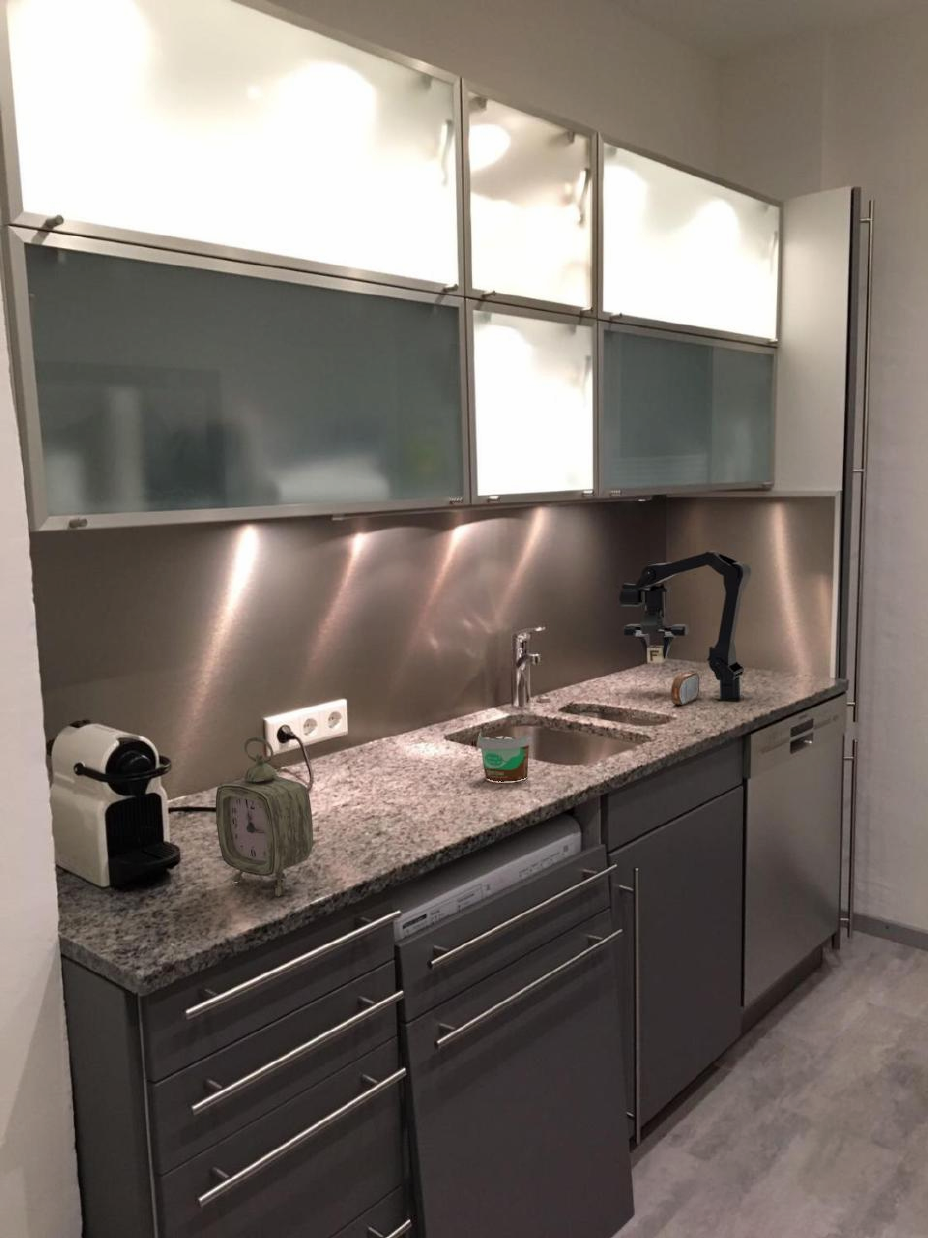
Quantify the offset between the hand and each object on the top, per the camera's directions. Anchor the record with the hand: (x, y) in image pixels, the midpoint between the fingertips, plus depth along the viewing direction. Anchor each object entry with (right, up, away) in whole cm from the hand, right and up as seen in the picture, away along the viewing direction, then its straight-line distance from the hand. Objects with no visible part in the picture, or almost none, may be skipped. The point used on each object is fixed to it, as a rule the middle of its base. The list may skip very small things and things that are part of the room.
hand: (656, 658), depth 303 cm
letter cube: (0, -1, 0) cm, 1 cm away
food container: (-49, -24, -82) cm, 99 cm away
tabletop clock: (-89, -32, -135) cm, 165 cm away
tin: (+6, -12, -12) cm, 19 cm away
